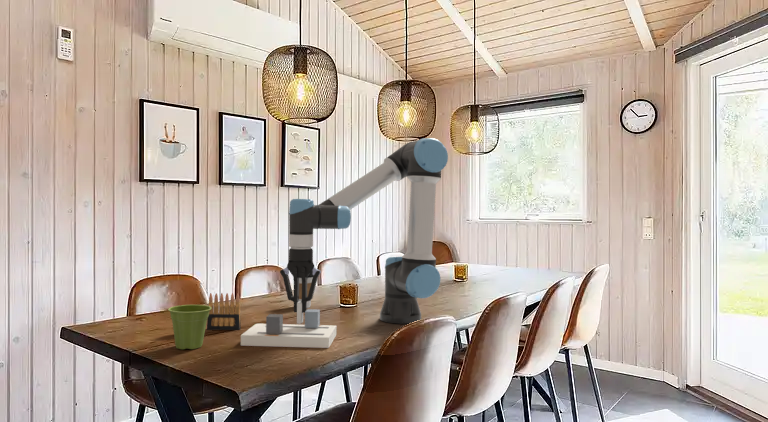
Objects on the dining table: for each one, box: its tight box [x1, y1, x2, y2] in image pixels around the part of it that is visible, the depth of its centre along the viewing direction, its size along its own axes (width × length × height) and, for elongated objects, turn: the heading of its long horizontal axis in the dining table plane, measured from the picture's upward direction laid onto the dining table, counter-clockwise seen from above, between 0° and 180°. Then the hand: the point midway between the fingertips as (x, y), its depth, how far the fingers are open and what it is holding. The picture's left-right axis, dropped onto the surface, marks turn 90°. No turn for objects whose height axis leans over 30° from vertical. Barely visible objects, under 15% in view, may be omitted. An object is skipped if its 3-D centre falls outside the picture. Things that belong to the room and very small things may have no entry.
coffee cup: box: [299, 270, 314, 309], centre depth 221 cm, size 8×8×15 cm
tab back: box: [304, 308, 321, 328], centre depth 171 cm, size 4×4×5 cm
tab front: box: [265, 313, 284, 334], centre depth 163 cm, size 4×4×5 cm
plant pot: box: [168, 304, 212, 350], centre depth 157 cm, size 12×12×11 cm
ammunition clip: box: [206, 292, 242, 331], centre depth 180 cm, size 11×2×12 cm, turn 93°
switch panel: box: [240, 323, 337, 349], centre depth 167 cm, size 26×16×3 cm, turn 87°
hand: (299, 322), depth 171 cm, fingers closed
